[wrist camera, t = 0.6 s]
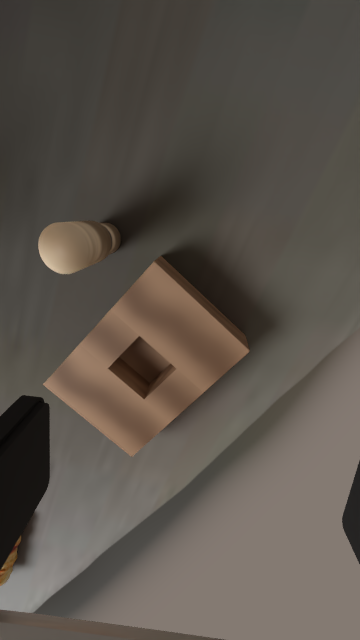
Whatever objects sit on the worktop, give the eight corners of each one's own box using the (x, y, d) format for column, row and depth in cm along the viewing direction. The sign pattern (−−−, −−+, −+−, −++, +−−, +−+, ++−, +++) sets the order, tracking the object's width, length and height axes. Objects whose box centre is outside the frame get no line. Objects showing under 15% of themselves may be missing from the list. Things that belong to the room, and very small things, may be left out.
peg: (103, 211, 39) (58, 211, 27) (130, 237, 39) (98, 247, 28) (80, 239, 40) (28, 249, 28) (108, 264, 40) (67, 284, 29)
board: (160, 255, 40) (154, 261, 35) (245, 335, 42) (249, 351, 37) (60, 366, 45) (43, 384, 40) (139, 432, 47) (131, 456, 42)
